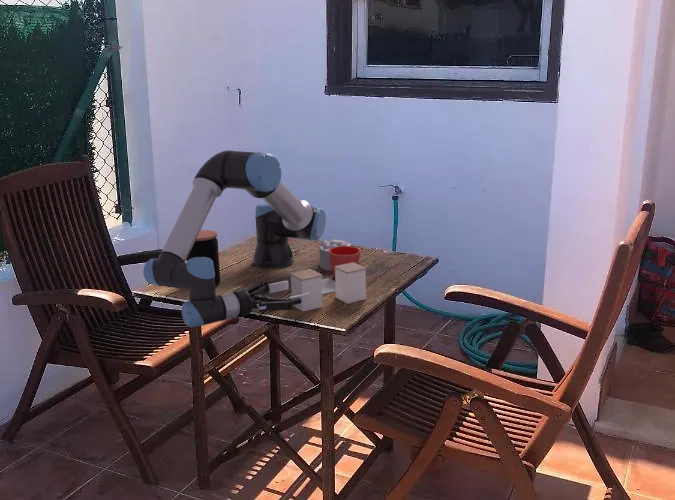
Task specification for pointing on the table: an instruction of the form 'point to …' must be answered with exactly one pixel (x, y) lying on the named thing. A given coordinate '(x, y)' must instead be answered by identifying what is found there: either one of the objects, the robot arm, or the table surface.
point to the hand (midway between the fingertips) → (298, 290)
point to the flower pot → (343, 256)
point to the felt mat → (328, 286)
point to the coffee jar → (207, 250)
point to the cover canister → (307, 288)
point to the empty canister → (350, 282)
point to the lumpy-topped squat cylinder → (324, 252)
